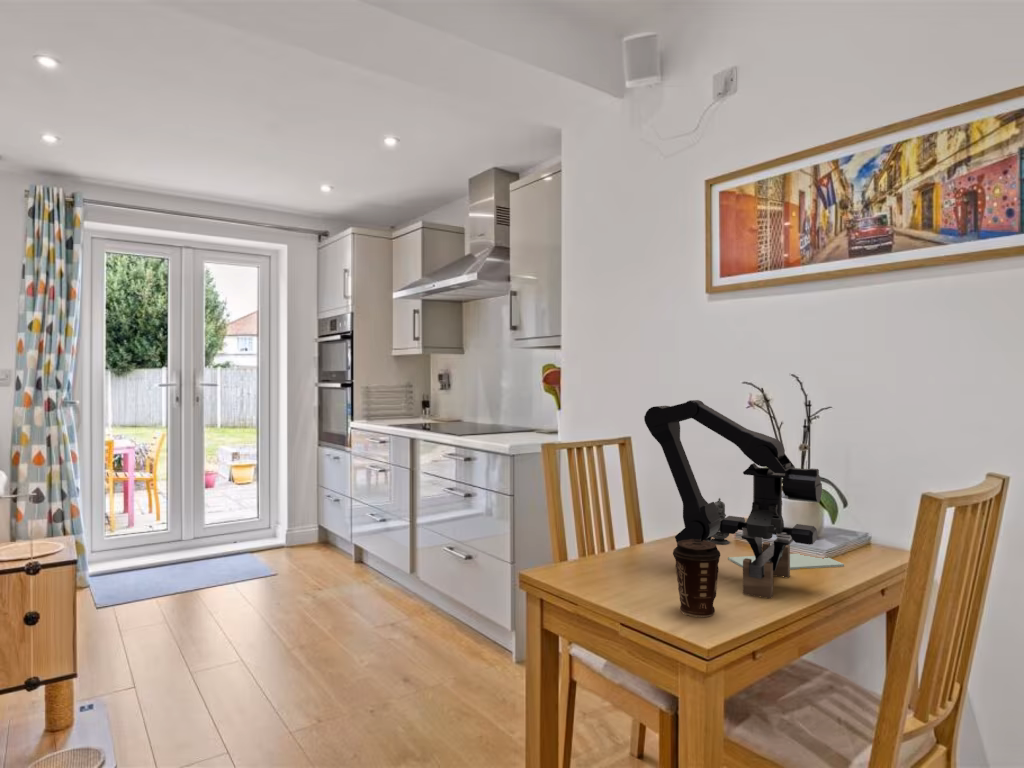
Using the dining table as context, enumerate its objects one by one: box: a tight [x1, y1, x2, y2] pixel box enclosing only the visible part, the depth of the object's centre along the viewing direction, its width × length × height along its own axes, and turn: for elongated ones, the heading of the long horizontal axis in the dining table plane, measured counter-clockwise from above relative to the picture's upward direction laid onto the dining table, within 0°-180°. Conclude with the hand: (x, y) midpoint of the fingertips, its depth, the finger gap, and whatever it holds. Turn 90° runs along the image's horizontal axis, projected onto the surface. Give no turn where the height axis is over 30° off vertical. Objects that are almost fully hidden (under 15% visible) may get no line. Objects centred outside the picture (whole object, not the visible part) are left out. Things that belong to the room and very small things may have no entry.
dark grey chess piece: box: [708, 497, 731, 546], centre depth 169 cm, size 6×6×12 cm
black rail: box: [749, 543, 782, 579], centre depth 135 cm, size 20×2×2 cm, turn 145°
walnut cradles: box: [742, 541, 791, 599], centre depth 135 cm, size 18×5×7 cm, turn 145°
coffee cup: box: [672, 539, 721, 618], centre depth 119 cm, size 9×8×13 cm
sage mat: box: [727, 553, 845, 570], centre depth 150 cm, size 24×10×1 cm, turn 100°
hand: (767, 569), depth 135 cm, fingers closed on black rail, 2 cm apart
